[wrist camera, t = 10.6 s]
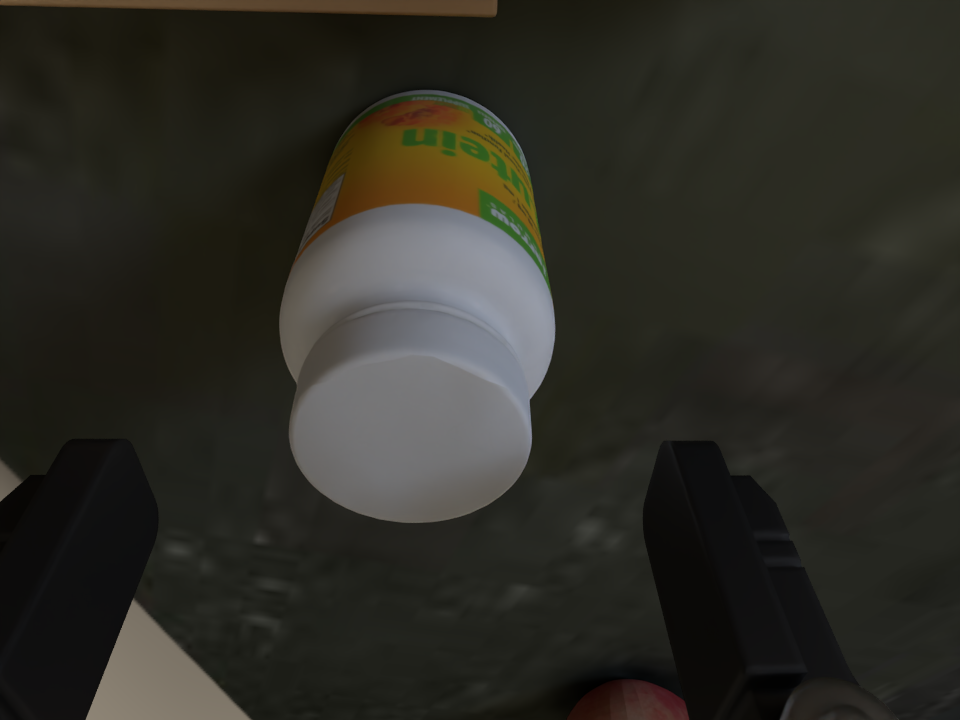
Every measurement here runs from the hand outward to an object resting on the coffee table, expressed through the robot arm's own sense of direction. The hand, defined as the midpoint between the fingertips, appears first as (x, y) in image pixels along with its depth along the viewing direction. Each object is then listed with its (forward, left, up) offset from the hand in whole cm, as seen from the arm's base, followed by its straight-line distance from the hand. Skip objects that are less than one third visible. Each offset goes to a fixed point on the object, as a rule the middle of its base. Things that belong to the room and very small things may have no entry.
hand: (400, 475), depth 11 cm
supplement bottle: (0, 0, -11) cm, 11 cm away
